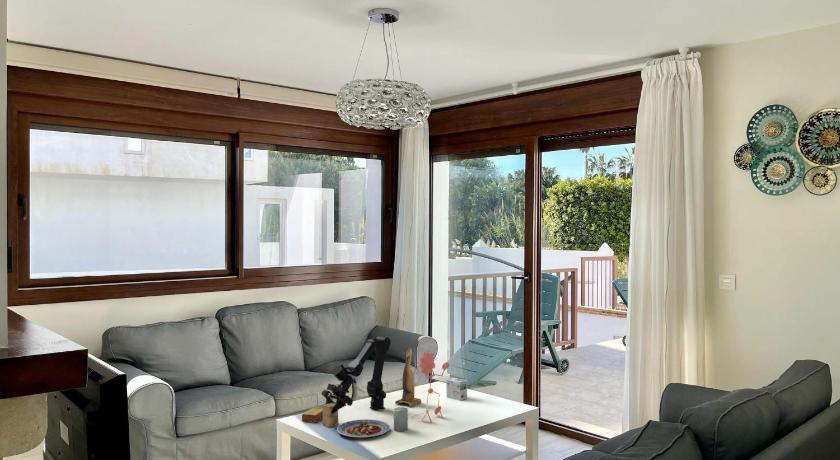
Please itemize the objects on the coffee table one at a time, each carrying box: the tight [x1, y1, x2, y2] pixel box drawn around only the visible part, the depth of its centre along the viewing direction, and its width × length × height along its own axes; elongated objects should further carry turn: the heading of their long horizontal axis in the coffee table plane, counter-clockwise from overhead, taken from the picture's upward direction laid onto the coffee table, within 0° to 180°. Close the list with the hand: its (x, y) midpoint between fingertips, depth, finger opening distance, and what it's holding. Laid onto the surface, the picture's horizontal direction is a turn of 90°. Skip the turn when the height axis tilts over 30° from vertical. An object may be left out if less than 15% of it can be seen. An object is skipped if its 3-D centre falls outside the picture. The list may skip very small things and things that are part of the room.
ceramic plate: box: [336, 418, 391, 438], centre depth 310 cm, size 26×26×3 cm
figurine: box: [411, 350, 450, 423], centre depth 331 cm, size 15×26×35 cm, turn 139°
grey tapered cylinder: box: [393, 406, 409, 433], centre depth 313 cm, size 7×7×10 cm
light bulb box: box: [445, 377, 468, 402], centre depth 367 cm, size 11×7×11 cm, turn 49°
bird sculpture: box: [394, 347, 422, 408], centre depth 356 cm, size 11×12×32 cm
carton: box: [301, 405, 323, 424], centre depth 333 cm, size 8×16×4 cm, turn 162°
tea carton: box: [322, 402, 339, 428], centre depth 321 cm, size 6×5×10 cm
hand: (328, 412), depth 320 cm, fingers closed on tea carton, 5 cm apart
